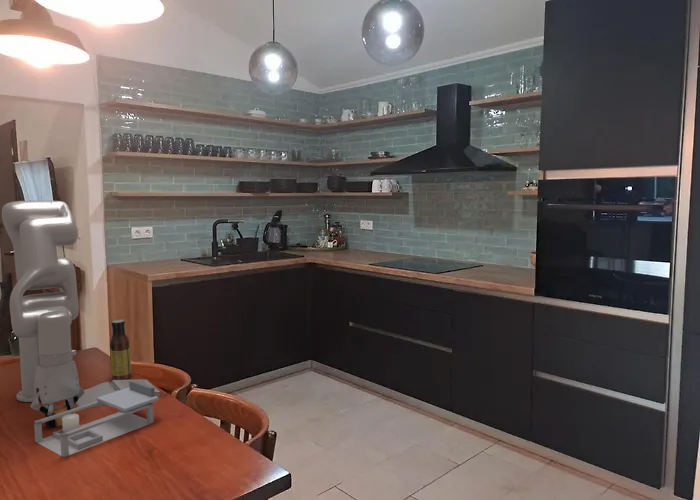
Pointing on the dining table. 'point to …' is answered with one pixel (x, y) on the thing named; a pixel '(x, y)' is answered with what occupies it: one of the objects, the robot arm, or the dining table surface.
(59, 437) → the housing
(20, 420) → the dining table surface
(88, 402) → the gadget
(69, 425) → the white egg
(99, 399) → the lid
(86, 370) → the dining table surface
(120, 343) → the sauce bottle
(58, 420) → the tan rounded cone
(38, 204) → the robot arm
